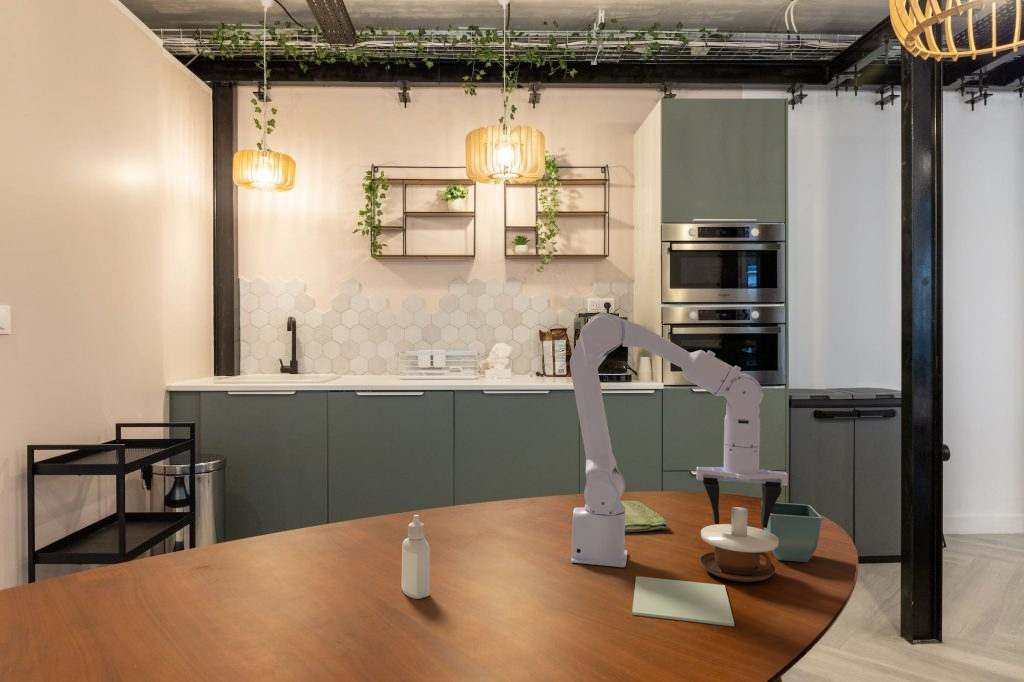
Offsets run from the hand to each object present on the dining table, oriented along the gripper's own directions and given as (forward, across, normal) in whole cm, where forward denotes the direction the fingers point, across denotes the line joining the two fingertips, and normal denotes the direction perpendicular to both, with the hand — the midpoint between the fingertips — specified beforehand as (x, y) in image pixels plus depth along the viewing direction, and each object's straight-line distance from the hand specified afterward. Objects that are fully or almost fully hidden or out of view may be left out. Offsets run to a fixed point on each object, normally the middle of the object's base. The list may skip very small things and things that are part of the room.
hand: (740, 524), depth 108 cm
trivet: (+8, -10, -14) cm, 19 cm away
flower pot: (+9, +10, +11) cm, 17 cm away
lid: (+2, 0, 0) cm, 3 cm away
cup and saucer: (+9, 0, 0) cm, 9 cm away
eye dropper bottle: (+9, -50, -22) cm, 55 cm away
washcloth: (+9, -20, +26) cm, 34 cm away
